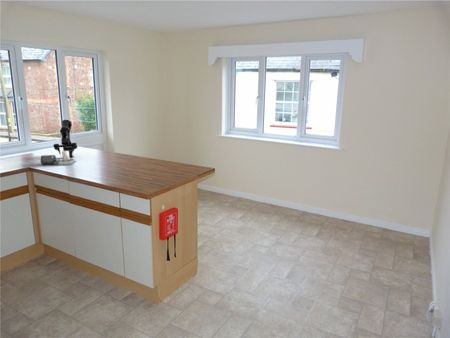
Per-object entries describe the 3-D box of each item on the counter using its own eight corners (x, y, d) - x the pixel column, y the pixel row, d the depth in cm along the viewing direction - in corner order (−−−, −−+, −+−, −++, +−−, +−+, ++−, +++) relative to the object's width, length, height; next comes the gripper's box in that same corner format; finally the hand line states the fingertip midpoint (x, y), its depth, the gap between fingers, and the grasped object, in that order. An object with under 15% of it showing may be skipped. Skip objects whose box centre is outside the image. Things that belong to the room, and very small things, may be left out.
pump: (65, 161, 300) (64, 150, 298) (72, 161, 299) (70, 150, 296) (61, 163, 294) (59, 152, 292) (67, 163, 293) (66, 152, 290)
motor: (45, 162, 300) (44, 154, 298) (76, 161, 303) (74, 153, 301) (40, 166, 288) (39, 157, 286) (71, 165, 292) (70, 156, 290)
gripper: (52, 134, 293) (52, 149, 286) (75, 133, 299) (76, 148, 292) (54, 142, 302) (54, 156, 295) (77, 140, 308) (77, 155, 301)
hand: (65, 154), depth 295 cm, fingers open, 9 cm apart
